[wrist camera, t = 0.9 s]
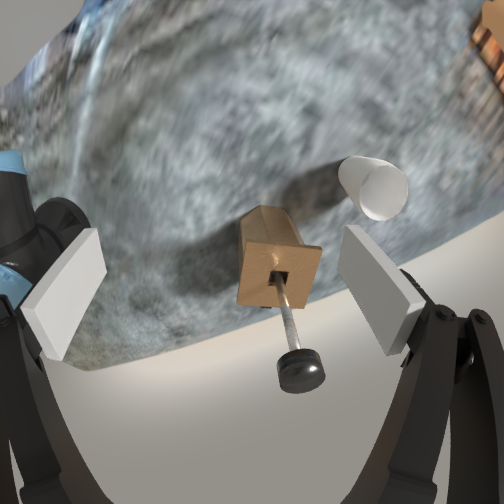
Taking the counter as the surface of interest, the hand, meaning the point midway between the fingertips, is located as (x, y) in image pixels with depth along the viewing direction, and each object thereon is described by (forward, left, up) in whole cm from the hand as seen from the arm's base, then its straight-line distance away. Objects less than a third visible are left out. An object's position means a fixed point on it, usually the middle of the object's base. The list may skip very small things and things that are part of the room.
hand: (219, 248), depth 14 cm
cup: (+23, -1, -35) cm, 42 cm away
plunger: (+9, -15, -23) cm, 28 cm away
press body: (+9, -16, -35) cm, 39 cm away
